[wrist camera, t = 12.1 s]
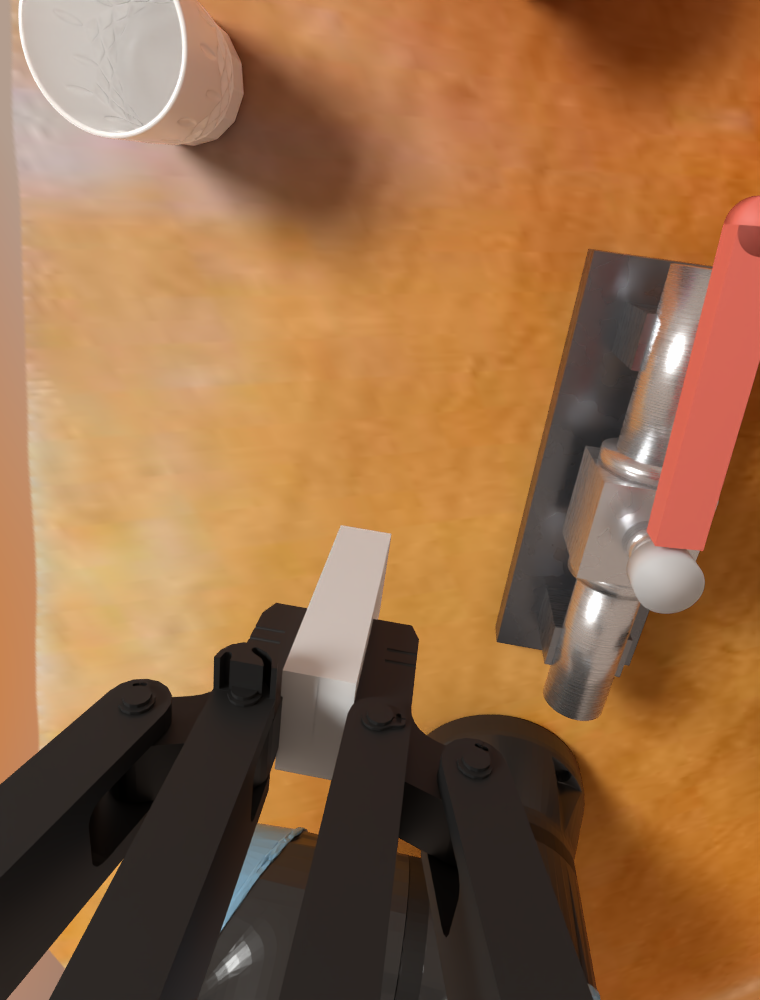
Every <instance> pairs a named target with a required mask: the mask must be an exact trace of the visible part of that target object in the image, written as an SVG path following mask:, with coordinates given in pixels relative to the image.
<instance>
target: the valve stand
mask: <svg viewBox="0 0 760 1000" xmlns="http://www.w3.org/2000/svg"><path fill="white" fill-rule="evenodd" d="M712 268H713V266H707V265H699V264H692V263H685V262H678V261H671V260H664V259H657V258H650V257H643V256H636V255H628V254H621V253H614V252H607V251H600V250H593V249H588V253H587V257H586V261H585V265H584V269H583V273H582V277H581V281H580V285H579V290H578V294H577V298H576V302H575V306H574V310H573V314H572V318H571V322H570V326H569V330H568V334H567V338H566V342H565V346H564V350H563V355H562V359H561V363H560V367H559V371H558V375H557V379H556V383H555V387H554V391H553V395H552V399H551V403H550V407H549V411H548V416H547V420H546V424H545V428H544V432H543V436H542V440H541V444H540V448H539V452H538V456H537V460H536V464H535V468H534V472H533V476H532V481H531V485H530V489H529V493H528V497H527V501H526V505H525V509H524V513H523V517H522V521H521V525H520V529H519V533H518V537H517V542H516V546H515V550H514V554H513V558H512V562H511V566H510V570H509V574H508V578H507V582H506V586H505V590H504V594H503V598H502V602H501V607H500V611H499V615H498V619H497V623H496V639H497V642H500V643H505V644H511V645H516V646H522V647H528V648H533V649H539V650H542V652H543V657H544V663H545V664H549V665H551V666H550V669H549V672H548V676H547V679H546V682H545V686H544V689H543V694H544V698H545V700H546V701H547V703H548V704H549V705H550V706H551V707H552V708H553V709H554V710H555V711H557V712H558V713H560V714H562V715H564V716H566V717H568V718H571V719H575V720H580V721H589V720H593V719H596V718H597V717H599V716H600V715H601V713H602V710H603V707H604V705H605V702H606V699H607V696H608V693H609V691H610V688H611V685H612V682H613V679H614V676H616V677H620V675H621V672H622V669H623V666H624V665H630V662H631V659H632V657H633V654H634V651H635V648H636V646H637V643H638V640H639V637H640V635H641V632H642V629H643V626H644V624H645V621H646V618H647V615H648V613H649V609H647V608H645V607H644V606H643V605H642V604H641V603H640V602H639V600H638V599H637V597H636V594H635V592H634V590H633V588H632V585H631V583H630V581H629V579H628V576H627V571H626V567H627V563H628V560H629V558H630V556H631V555H632V553H633V552H634V551H635V550H636V549H637V548H638V547H640V546H641V545H643V544H645V543H647V542H650V541H652V540H651V538H650V536H649V535H648V533H647V531H646V530H647V527H648V523H649V519H650V515H651V511H652V507H653V503H654V499H655V495H656V491H657V487H658V483H659V479H660V475H661V471H662V467H663V463H664V459H665V455H666V451H667V447H668V443H669V439H670V435H671V431H672V427H673V423H674V419H675V415H676V411H677V407H678V403H679V399H680V395H681V391H682V387H683V383H684V379H685V376H686V372H687V368H688V364H689V360H690V356H691V352H692V348H693V344H694V340H695V336H696V332H697V328H698V324H699V320H700V316H701V312H702V308H703V304H704V300H705V296H706V292H707V288H708V284H709V280H710V276H711V272H712ZM718 502H719V500H718ZM717 505H718V503H717ZM716 508H717V506H716ZM715 510H716V509H715ZM687 550H688V551H689V553H690V554H691V556H692V557H693V559H694V560H695V562H696V559H697V557H698V554H699V552H700V551H699V550H689V549H687Z"/></svg>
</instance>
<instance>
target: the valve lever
mask: <svg viewBox="0 0 760 1000" xmlns="http://www.w3.org/2000/svg"><path fill="white" fill-rule="evenodd" d="M759 361H760V196H752V197H749V198H746V199H744V200H742V201H740V202H739V203H737V204H736V205H735V206H734V207H733V208H732V209H731V210H730V212H729V213H728V215H727V217H726V219H725V221H724V225H723V229H722V232H721V236H720V240H719V244H718V248H717V252H716V256H715V260H714V264H713V268H712V272H711V276H710V280H709V284H708V288H707V292H706V296H705V300H704V304H703V308H702V312H701V316H700V320H699V324H698V328H697V332H696V336H695V340H694V344H693V348H692V352H691V356H690V360H689V364H688V368H687V372H686V376H685V379H684V383H683V387H682V391H681V395H680V399H679V403H678V407H677V411H676V415H675V419H674V423H673V427H672V431H671V435H670V439H669V443H668V447H667V451H666V455H665V459H664V463H663V467H662V471H661V475H660V479H659V483H658V487H657V491H656V495H655V499H654V503H653V507H652V511H651V515H650V519H649V523H648V527H647V530H646V531H647V533H648V535H649V536H650V538H651V540H652V541H650V542H647V543H645V544H643V545H641V546H640V547H638V548H637V549H636V550H635V551H634V552H633V553H632V555H631V556H630V558H629V560H628V563H627V567H626V571H627V576H628V579H629V581H630V583H631V585H632V588H633V590H634V592H635V594H636V597H637V599H638V600H639V602H640V603H641V604H642V605H643V606H644V607H645V608H647V609H649V610H651V611H653V612H657V613H662V614H671V613H676V612H680V611H683V610H685V609H687V608H689V607H690V606H692V605H693V604H694V603H695V602H696V601H697V600H698V599H699V598H700V596H701V595H702V593H703V590H704V586H705V578H704V575H703V572H702V571H701V569H700V568H699V566H698V565H697V563H696V562H695V560H694V559H693V557H692V556H691V554H690V553H689V551H688V550H687V549H689V550H699V551H703V550H704V547H705V543H706V540H707V536H708V533H709V530H710V526H711V523H712V520H713V516H714V513H715V509H716V506H717V503H718V499H719V496H720V493H721V489H722V486H723V483H724V479H725V476H726V472H727V469H728V466H729V462H730V459H731V456H732V452H733V449H734V446H735V442H736V439H737V435H738V432H739V429H740V425H741V422H742V419H743V415H744V412H745V409H746V405H747V402H748V398H749V395H750V392H751V388H752V385H753V382H754V378H755V375H756V372H757V368H758V365H759Z"/></svg>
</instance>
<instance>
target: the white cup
mask: <svg viewBox="0 0 760 1000" xmlns="http://www.w3.org/2000/svg"><path fill="white" fill-rule="evenodd" d="M19 31H20V38H21V43H22V48H23V52H24V55H25V58H26V61H27V64H28V67H29V69H30V71H31V74H32V76H33V78H34V80H35V82H36V84H37V85H38V87H39V89H40V90H41V92H42V93H43V95H44V96H45V98H46V99H47V100H48V101H49V103H50V104H51V105H52V106H53V107H54V108H55V109H56V111H57V112H59V113H60V114H61V115H62V116H63V117H64V118H65V119H66V120H68V121H69V122H70V123H72V124H73V125H75V126H76V127H78V128H80V129H82V130H84V131H86V132H88V133H90V134H93V135H96V136H100V137H104V138H111V139H120V140H128V141H136V142H143V143H153V144H168V145H178V144H186V145H192V146H195V145H199V144H202V143H206V142H209V141H213V140H216V139H218V138H219V137H220V136H221V135H222V134H223V133H224V132H225V131H226V130H227V129H228V128H229V127H230V126H231V125H232V124H233V123H234V122H235V120H236V117H237V114H238V110H239V107H240V104H241V101H242V98H243V95H244V90H243V76H242V63H241V61H240V59H239V57H238V55H237V52H236V50H235V48H234V46H233V44H232V42H231V40H230V37H229V35H228V34H227V33H226V32H225V31H224V30H223V29H221V28H220V27H219V26H218V25H217V24H216V23H215V21H214V20H213V18H212V17H211V16H210V14H209V13H208V12H207V10H206V9H205V8H204V7H203V6H202V5H201V4H200V3H199V2H198V1H197V0H19Z"/></svg>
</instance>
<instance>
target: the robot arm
mask: <svg viewBox="0 0 760 1000" xmlns="http://www.w3.org/2000/svg"><path fill="white" fill-rule="evenodd" d="M390 540H391V534H389V533H383V532H377V531H371V530H366V529H360V528H354V527H348V526H342V525H341V526H340V529H339V531H338V534H337V536H336V539H335V541H334V544H333V546H332V549H331V551H330V554H329V556H328V559H327V561H326V564H325V566H324V569H323V571H322V574H321V576H320V579H319V581H318V584H317V586H316V589H315V591H314V593H313V596H312V598H311V601H310V603H309V606H308V608H302V607H296V606H291V605H285V604H280V603H275V604H274V605H272V606H271V607H270V608H268V609H267V610H266V611H264V612H263V613H262V615H261V616H260V618H259V620H258V622H257V624H256V627H255V628H254V630H253V632H252V634H251V636H250V639H249V640H248V642H247V643H244V642H243V643H238V644H232V645H230V646H228V647H226V648H224V649H222V650H220V651H219V652H218V653H217V655H216V656H215V657H214V688H213V690H212V691H211V692H208V693H205V694H202V695H196V696H185V697H172V695H171V693H170V691H169V689H168V687H167V686H165V685H163V684H162V683H160V682H159V681H154V680H150V679H136V680H131V681H128V682H125V683H121V684H120V685H118V686H116V687H115V688H113V689H112V690H110V691H109V692H108V693H107V694H105V695H104V696H103V697H102V698H101V699H100V700H98V701H97V702H96V703H95V704H94V705H93V706H91V707H90V708H89V709H88V710H87V711H86V712H84V713H83V714H82V715H81V716H80V717H79V718H77V719H76V720H75V721H74V722H73V723H72V724H70V725H69V726H68V727H67V728H66V729H65V730H63V731H62V732H61V733H60V734H59V735H58V736H56V737H55V738H54V739H53V740H52V741H51V742H49V743H48V744H47V745H46V746H45V747H44V748H42V749H41V750H40V751H39V752H38V753H37V754H35V755H34V756H33V757H32V758H31V759H29V760H28V761H27V762H26V763H25V764H24V765H22V766H21V767H20V768H19V769H18V770H17V771H15V773H13V774H12V775H11V776H10V777H8V778H7V779H6V780H5V781H4V782H3V783H1V784H0V1000H6V999H7V998H8V997H9V996H10V995H11V993H12V992H13V991H14V990H15V989H16V987H17V986H18V985H19V984H20V983H21V981H22V980H23V979H24V978H25V976H26V975H27V974H28V973H29V972H30V970H31V969H32V968H33V967H34V966H35V964H36V963H37V962H38V961H39V960H40V958H41V957H42V956H43V955H44V954H45V952H46V951H47V950H48V949H49V948H50V946H51V945H52V944H53V943H54V942H55V940H56V939H57V938H58V937H59V936H60V934H61V933H62V932H63V931H64V930H65V928H66V927H67V926H68V925H69V923H70V922H71V921H72V920H73V919H74V917H75V916H76V915H77V914H78V913H79V911H80V910H81V909H82V908H83V907H84V905H85V904H86V903H87V902H88V901H89V899H90V898H91V897H92V896H93V895H94V893H95V892H96V891H97V890H98V889H99V887H100V886H101V885H102V884H103V883H104V881H105V880H106V879H107V878H108V876H109V875H110V874H111V873H112V872H113V870H114V869H115V868H116V867H117V866H118V864H119V863H120V862H121V861H122V860H123V861H122V863H121V864H120V866H119V868H118V870H117V872H116V874H115V876H114V878H113V880H112V882H111V883H110V885H109V887H108V889H107V891H106V893H105V895H104V897H103V899H102V900H101V902H100V904H99V906H98V908H97V910H96V912H95V914H94V916H93V917H92V919H91V921H90V923H89V925H88V927H87V929H86V931H85V933H84V934H83V936H82V938H81V940H80V942H79V944H78V946H77V948H76V950H75V951H74V953H73V955H72V957H71V959H70V961H69V963H68V965H67V967H66V969H65V971H64V972H63V974H62V976H61V978H60V980H59V982H58V984H57V986H56V987H55V990H54V991H53V993H52V995H51V997H50V999H49V1000H600V995H599V992H598V991H597V988H596V983H595V977H594V971H593V966H592V960H591V955H590V949H589V943H588V938H587V932H586V926H585V921H584V915H583V910H582V904H581V898H580V893H579V887H578V882H577V876H576V870H575V864H574V859H575V854H576V849H577V843H578V838H579V833H580V828H581V823H582V817H583V812H584V805H585V800H584V789H583V784H582V779H581V774H580V770H579V766H578V764H577V761H576V759H575V757H574V756H573V754H572V752H571V751H570V750H569V748H568V747H567V746H566V745H565V744H564V743H563V742H562V741H561V740H560V739H559V738H558V737H556V736H555V735H554V734H552V733H551V732H549V731H548V730H546V729H544V728H543V727H541V726H539V725H536V724H534V723H532V722H529V721H526V720H523V719H519V718H515V717H510V716H503V715H476V716H469V717H464V718H460V719H457V720H454V721H451V722H449V723H446V724H444V725H442V726H440V727H438V728H437V729H435V730H434V731H432V732H431V733H430V734H428V735H425V734H424V733H423V732H422V731H421V730H420V729H419V728H418V727H417V725H416V724H415V722H414V720H413V717H412V713H411V705H412V696H413V687H414V678H415V669H416V660H417V651H418V642H419V639H418V637H417V635H416V633H415V631H414V629H413V627H412V626H411V625H405V624H400V623H394V622H388V621H383V620H378V617H379V612H380V606H381V599H382V592H383V586H384V579H385V573H386V566H387V559H388V553H389V546H390ZM275 757H276V762H275V769H277V770H282V771H287V772H293V773H298V774H303V775H308V776H313V777H318V778H324V779H329V780H332V781H331V785H330V789H329V793H328V797H327V801H326V805H325V810H324V814H323V818H322V822H321V826H320V830H319V835H318V834H314V833H310V832H308V831H307V829H305V828H301V827H298V828H296V829H291V828H285V827H278V826H272V825H266V824H260V823H258V820H259V817H260V814H261V811H262V808H263V805H264V802H265V799H266V796H267V793H268V790H269V779H270V771H271V768H272V765H273V762H274V760H275ZM398 838H400V839H402V840H404V841H406V842H408V843H409V844H411V845H413V846H415V847H417V848H419V849H421V858H418V857H413V856H409V855H406V854H401V853H397V846H398ZM123 858H124V859H123Z"/></svg>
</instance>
